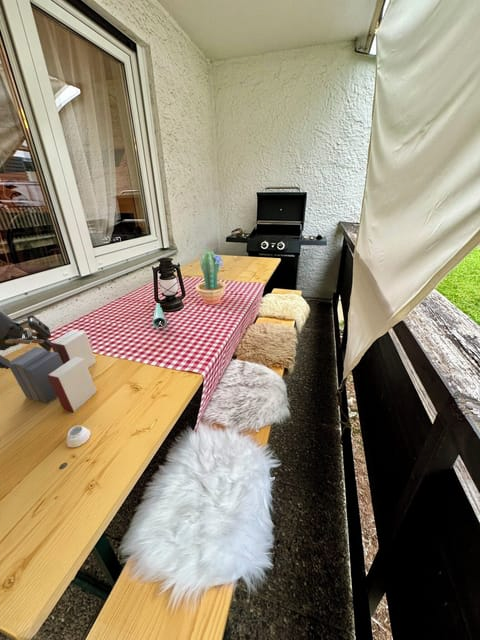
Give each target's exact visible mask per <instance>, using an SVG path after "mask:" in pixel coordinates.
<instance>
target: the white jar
mask: <svg viewBox="0 0 480 640" xmlns="http://www.w3.org/2000/svg"><path fill="white" fill-rule="evenodd" d="M91 435H92V433H91V430H90V429H89V428H88V427H85V426H82V425H81V424H79V425H74V426H73V427H71V428H70V429H69V430H68V432H67V436H66V439H65V444H66V445H67V446H68V448H78V447H79V446H82V445H84V444H85V443H86V442H87V441H88V440H89V439H90V438H91Z"/></svg>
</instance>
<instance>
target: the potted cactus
mask: <svg viewBox="0 0 480 640" xmlns="http://www.w3.org/2000/svg"><path fill="white" fill-rule="evenodd" d="M199 263H200V269H201V271H202V274H203V279H204V281H203V282H200V283H198V284H196V286H195V290H196V292H197V293H198V294H199V296H200V298H201V299H202V300H203V301H202V302H203V303H204V304H206V305H217V304H220V303H221V301H222V297H223V296H224V293H225V291H226V288H227V284H226V283H225V282H223V281H218V275H219V272H220V269H221V268H222V267H223V265H224V264H223V263H224V262H223V258H222V257H221V256H220V255H218V254H217V253H214V251H209V250H207V251H204V252H203V254H202V256H201V257H200V260H199Z"/></svg>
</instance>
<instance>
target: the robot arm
mask: <svg viewBox="0 0 480 640" xmlns="http://www.w3.org/2000/svg"><path fill="white" fill-rule="evenodd" d="M23 336H24V337H23ZM51 338H52V333H51V329H50V327H49V326H47V325H46V324H45V323H44V322H42V321H41V320H40V319H38V318H37V317H36V316H34V315H27V317H26V320H24V321H22V322H17V321H14V320H13V319H12V318H11V317H10V316H9V315H8V314H6V313H5V312H4V311H3V310H1V309H0V351H6V350H8V349H10V348H12V347H16V346H19V345H20V344H22V345H30V344H38V345H39V346H40V348H42V347H43V348H44V349H45V350H47V351H53V349H52V344H51V342H52V340H50V339H51ZM10 361H11V360H9V359H8V358H7V357H4V356H3V355H1V354H0V369H6V370H8V369H10V368H11V364H10Z"/></svg>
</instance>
